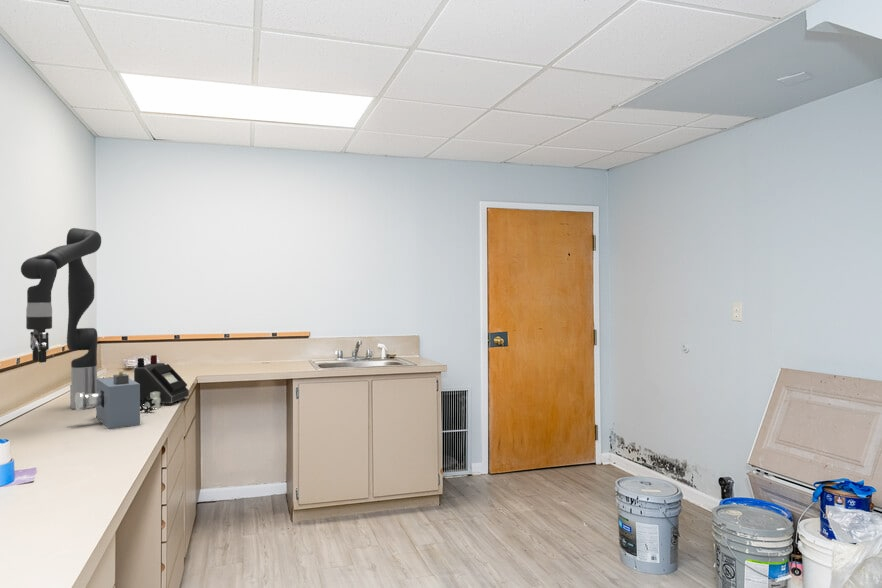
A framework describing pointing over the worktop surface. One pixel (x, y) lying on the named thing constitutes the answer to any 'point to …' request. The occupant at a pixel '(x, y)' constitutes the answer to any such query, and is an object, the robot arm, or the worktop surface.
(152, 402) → the valve
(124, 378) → the potentiometer
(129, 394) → the housing
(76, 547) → the worktop surface
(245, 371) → the worktop surface
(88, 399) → the knob
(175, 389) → the voltmeter
